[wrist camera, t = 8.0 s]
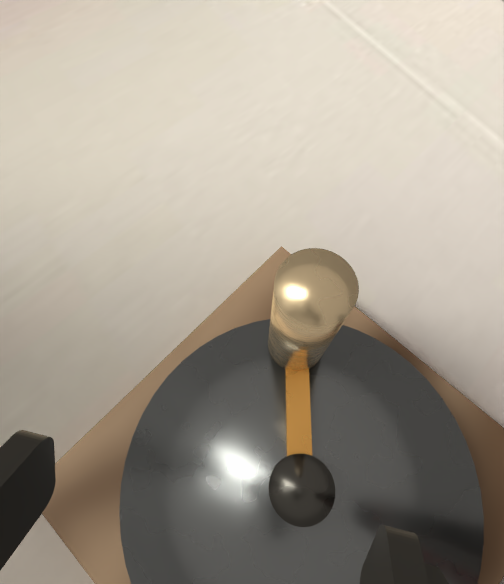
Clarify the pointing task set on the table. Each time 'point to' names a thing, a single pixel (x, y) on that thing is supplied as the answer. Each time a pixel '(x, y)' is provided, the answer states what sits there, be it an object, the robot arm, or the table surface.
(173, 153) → the table surface
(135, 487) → the crank turntable
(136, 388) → the stand base
